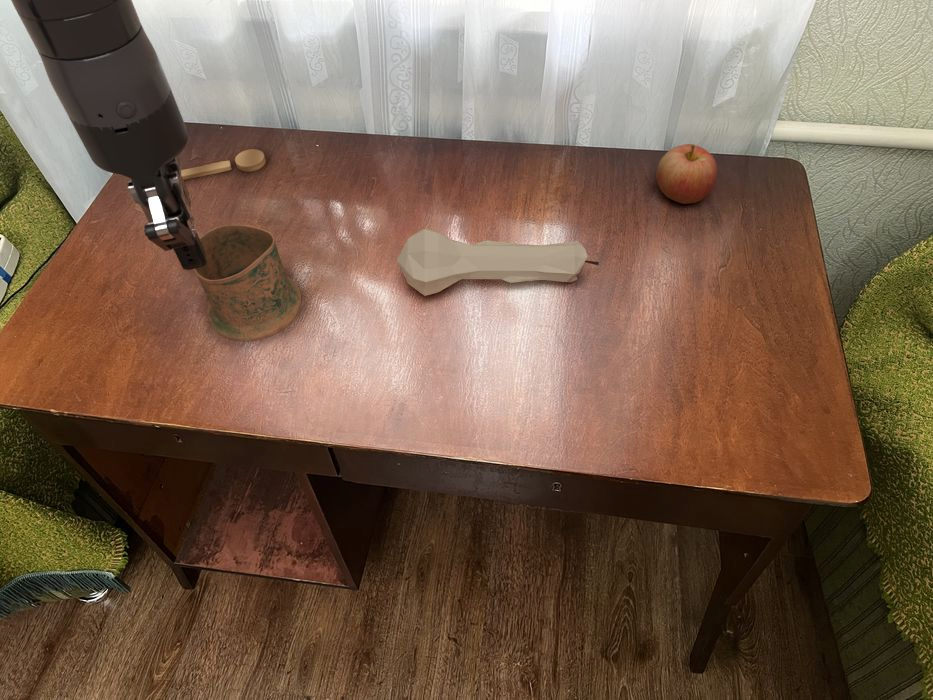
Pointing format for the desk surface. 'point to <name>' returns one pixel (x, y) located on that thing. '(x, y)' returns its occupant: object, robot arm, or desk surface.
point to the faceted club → (485, 261)
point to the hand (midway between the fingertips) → (195, 263)
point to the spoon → (229, 165)
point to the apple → (687, 173)
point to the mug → (246, 283)
